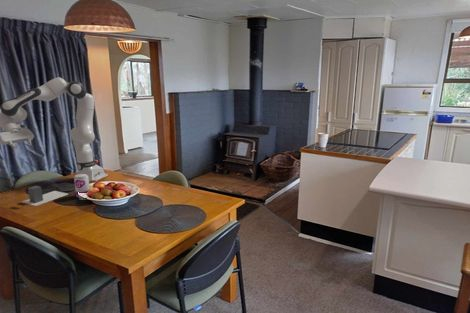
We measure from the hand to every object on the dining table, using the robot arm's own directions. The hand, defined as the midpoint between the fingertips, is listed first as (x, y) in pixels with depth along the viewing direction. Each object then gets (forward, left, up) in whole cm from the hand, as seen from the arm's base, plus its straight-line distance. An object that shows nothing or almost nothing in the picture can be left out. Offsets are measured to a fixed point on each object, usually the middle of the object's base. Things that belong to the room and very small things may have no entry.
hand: (23, 146), depth 213 cm
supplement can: (-8, +41, -32) cm, 53 cm away
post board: (+5, +23, -31) cm, 39 cm away
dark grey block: (+11, +23, -30) cm, 39 cm away
